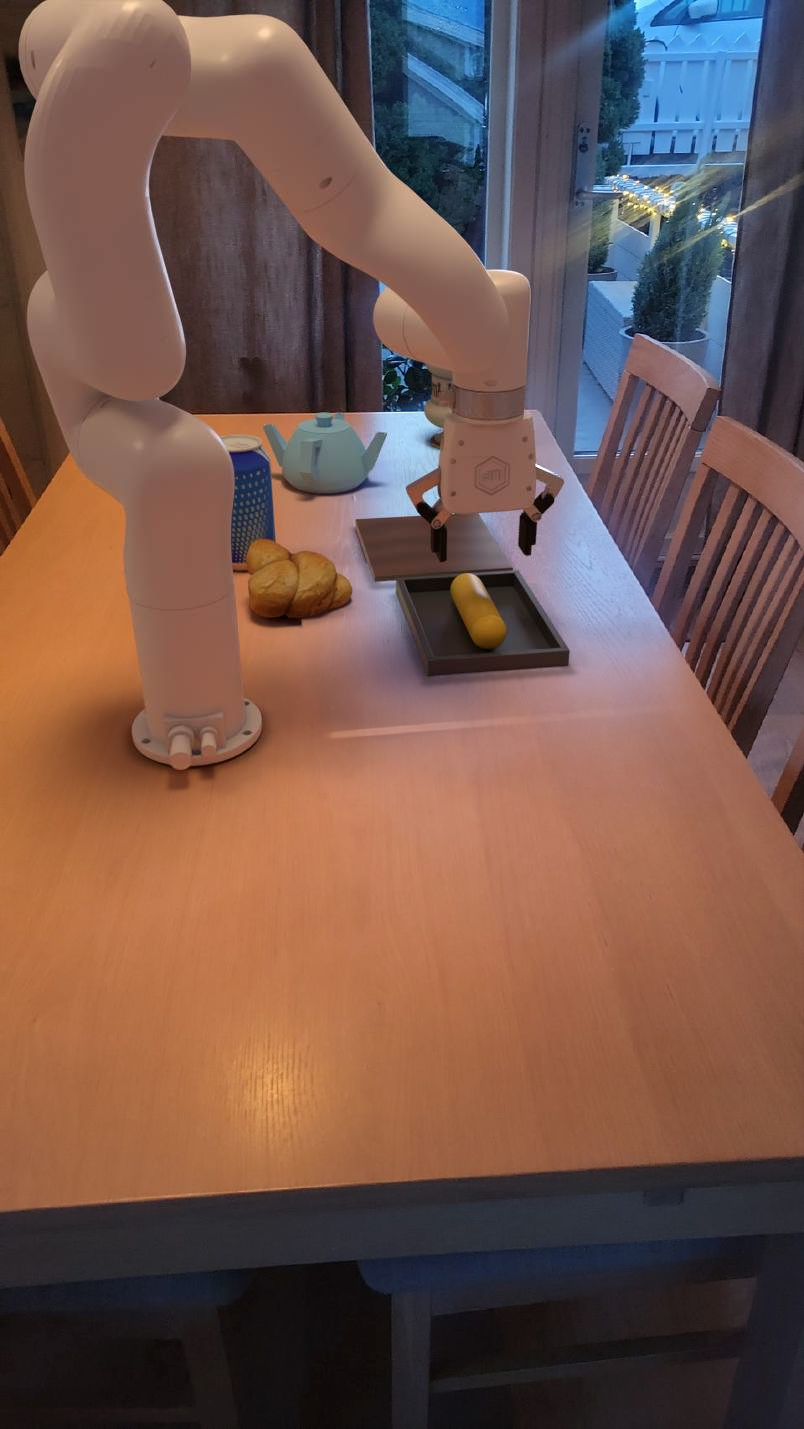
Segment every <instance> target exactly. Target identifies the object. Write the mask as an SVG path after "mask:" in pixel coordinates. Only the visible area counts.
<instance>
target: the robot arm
mask: <svg viewBox="0 0 804 1429" xmlns="http://www.w3.org/2000/svg"><path fill="white" fill-rule="evenodd" d="M18 61H19V66H20V67H19V68H20V71H21V74H22V77H23V80H24V83H25V84H26V86H27V89H28V90H29V92H30V94H31V95H32V97H33V98H34V99H35V101H36V102H35V105H34V108H33V111H32V114H31V118H30V120H29V125H28V130H27V134H26V140H25V147H24V159H23V160H24V161H23V162H24V165H23V166H24V169H23V171H24V185H25V191H26V196H27V201H28V202H27V203H28V206H29V210H30V214H31V218H32V222H33V226H34V229H35V231H36V236H37V238H38V242H39V245H40V250H41V253H42V256H43V260H44V264H45V268H46V270H45V271H44V273H42V274H41V275H40V277H39V278H38V279H37V281H36V283H35V284H34V286H33V288H32V290H31V292H30V295H29V297H28V301H27V309H26V326H27V327H26V328H27V333H28V339H29V343H30V348H31V350H32V353H33V356H34V359H35V362H36V366H37V369H38V370H39V373H40V376H41V379H42V381H43V384H44V388H45V390H46V393H47V395H48V398H49V401H50V404H51V406H52V410H53V412H54V414H55V417H56V420H57V422H58V425H59V428H60V431H61V434H62V436H63V438H64V441H65V443H66V446H67V448H68V450H69V453H70V455H71V457H72V459H73V461H74V463H75V464H76V466H77V467H78V469H79V470H80V471H81V473H82V474H83V475H84V477H86V479H88V480H89V481H90V482H91V483H92V484H94V486H96V487H97V488H99V489H100V490H101V491H103V492H104V493H106V494H108V495H109V496H111V497H112V498H113V499H114V500H116V502H118V503H120V504H121V505H122V507H123V511H124V515H125V532H124V539H123V550H122V551H123V553H122V555H123V556H122V557H123V558H122V560H123V571H124V572H123V573H124V580H125V586H126V587H125V588H126V593H127V597H128V603H129V609H130V614H131V616H130V617H131V623H132V629H133V636H134V643H135V649H136V657H137V663H138V669H139V676H140V683H141V684H140V685H141V691H142V696H143V703H144V704H143V705H144V708H143V709H142V710H141V711H140V712H139V713H138V714H137V716H136V717H135V718H134V720H133V722H132V725H131V735H132V736H131V737H132V741H133V745H134V746H135V748H136V749H137V750H138V751H139V753H141V754H142V756H145V757H146V758H148V759H149V760H150V759H151V760H152V761H155V762H157V763H161V764H164V765H165V764H166V765H169V766H171V767H172V768H173V769H175V770H179V771H184V770H186V769H188V768H189V767H198V766H207V765H212V764H217V763H220V762H224V761H227V760H229V759H233V758H234V757H236V756H239V755H240V754H242V753H244V752H245V751H246V750H248V749H249V748H251V747H252V746H253V745H254V744H255V743H256V742H257V740H258V739H259V737H260V736H261V734H262V730H263V716H262V713H261V711H260V709H259V708H258V706H257V705H256V704H255V703H254V702H253V701H251V700H250V699H248V698H246V697H245V692H244V691H245V690H244V679H243V669H242V657H241V647H240V646H241V645H240V636H239V622H238V612H237V604H236V603H237V600H236V589H235V582H234V570H233V568H232V555H231V518H232V508H233V499H234V487H235V478H234V468H233V464H232V460H231V457H230V454H229V452H228V450H227V448H226V446H225V444H224V442H223V441H222V440H221V438H220V437H221V436H219V435H218V433H217V432H216V431H215V430H214V429H213V428H212V427H211V426H210V425H209V424H207V423H206V422H205V421H204V420H202V419H200V418H198V417H197V416H196V415H194V414H192V413H189V412H188V411H185V410H183V409H182V408H180V407H178V406H175V405H173V404H171V403H169V402H166V401H163V400H161V399H160V398H162V397H163V396H165V395H166V394H168V393H169V392H170V391H172V390H173V388H174V387H175V386H176V385H177V384H178V383H179V381H180V380H181V378H182V375H183V373H184V370H185V366H186V359H187V358H186V357H187V345H186V344H187V343H186V339H185V334H184V328H183V324H182V320H181V316H180V314H179V310H178V307H177V303H176V300H175V297H174V292H173V288H172V286H171V281H170V278H169V275H168V271H167V267H166V263H165V260H164V256H163V253H162V250H161V245H160V242H159V238H158V234H157V229H156V226H155V221H154V220H155V219H154V215H153V211H152V204H151V199H150V198H151V197H150V186H149V185H150V175H151V168H152V163H153V159H154V155H155V152H156V149H157V147H158V144H159V142H160V140H161V138H162V136H163V137H164V136H166V137H180V138H202V139H215V140H226V141H234V142H235V143H236V144H237V145H238V146H239V148H240V149H241V150H242V151H243V152H244V154H245V155H246V156H247V158H248V159H249V161H250V162H251V163H252V164H253V166H254V167H255V168H256V169H257V170H258V172H259V173H260V174H261V175H262V177H263V178H264V180H265V181H266V182H267V183H268V184H269V185H270V187H271V189H273V191H274V192H275V194H276V195H277V196H278V197H279V199H280V200H281V201H282V203H283V205H284V206H285V207H286V208H287V209H288V211H289V212H290V213H291V215H292V216H293V218H294V219H295V221H296V222H297V223H298V224H299V226H300V227H301V228H302V230H303V231H304V232H305V233H306V234H307V236H308V237H309V238H311V240H312V241H313V242H315V243H316V244H317V245H319V246H320V247H321V248H323V249H324V250H326V252H329V253H330V254H331V255H333V256H335V257H336V258H337V259H339V260H341V261H343V262H344V263H346V264H348V265H350V266H352V267H353V268H356V269H358V270H359V271H362V272H363V273H366V274H367V275H368V276H370V277H372V278H373V279H375V280H377V281H378V282H380V283H381V284H382V285H384V286H385V288H384V289H383V290H382V291H381V293H380V294H379V296H378V297H377V299H376V301H375V304H374V307H373V313H372V316H373V317H372V321H373V322H372V323H373V327H374V330H375V333H376V335H377V337H378V339H379V340H380V341H381V343H382V344H383V345H384V346H385V347H386V348H387V349H389V351H392V352H393V353H395V354H396V355H399V356H400V357H403V358H407V359H409V360H414V361H415V362H416V361H417V362H420V363H423V364H425V363H428V364H431V365H434V366H438V367H441V368H444V369H447V370H450V371H453V382H451V387H449V390H446V392H439V394H438V401H439V405H446V406H450V408H451V409H452V411H449V412H447V414H446V417H445V421H444V426H443V429H442V431H441V432H442V437H441V445H440V448H439V453H438V454H439V455H438V465H437V467H436V468H435V469H433V470H431V471H429V472H428V473H426V474H425V475H423V476H421V477H419V478H418V479H416V480H414V481H412V482H410V483H409V484H407V485H406V486H405V492H406V494H407V496H408V498H409V500H410V501H411V503H412V505H413V507H414V509H415V510H416V512H417V513H418V514H419V516H422V517H423V518H424V519H425V520H426V521H427V522H429V523H430V524H431V540H430V545H431V551H432V553H436V555H437V557H438V559H439V561H440V562H445V561H447V528H446V527H445V525H444V523H445V522H446V520H447V519H448V518H449V517H450V516H451V515H452V514H474V513H479V514H487V513H489V514H490V513H501V512H513V511H522V510H523V511H522V512H521V513H520V515H519V521H518V536H517V546H518V548H519V549H520V551H521V552H522V554H523V555H524V556H525V557H529V556H530V557H531V555H532V547H533V546H536V545H537V534H538V533H537V532H538V522H539V521H541V520H542V516H543V514H545V513H546V512H547V510H549V509H550V508H551V507H552V506H553V505H554V503H555V499H556V498H557V497H558V495H559V493H560V492H561V490H562V488H563V486H564V484H565V480H564V479H563V477H562V476H561V475H559V474H557V473H555V472H554V471H551V470H549V469H547V468H545V467H542V466H541V465H538V464H537V458H536V457H537V456H536V455H537V454H536V437H535V436H536V435H535V427H534V421H533V415H532V413H531V412H529V411H528V410H527V409H526V408H525V407H526V405H525V404H526V389H527V387H526V386H527V369H528V351H529V335H530V317H531V316H530V314H531V313H530V312H531V298H532V293H531V292H532V290H531V285H530V281H529V279H528V277H526V276H525V275H524V274H522V273H521V272H517V271H514V270H507V269H486V267H485V266H484V264H483V262H482V261H481V259H480V257H479V256H478V255H477V254H476V252H475V251H474V249H472V247H471V245H470V244H468V242H467V241H466V240H465V238H464V237H462V236H461V235H460V234H459V232H458V231H457V230H456V229H455V228H454V227H452V225H450V223H448V222H447V221H446V220H445V219H444V218H443V217H442V216H441V215H439V214H438V213H437V212H436V211H435V210H434V209H433V208H432V207H431V206H430V205H428V204H427V202H425V201H424V200H423V199H422V198H421V197H420V196H419V195H418V194H417V193H416V192H415V191H414V190H413V189H411V188H410V187H409V186H408V185H407V184H405V183H404V182H403V181H402V180H401V179H400V178H398V177H397V176H396V175H395V174H394V173H393V172H391V170H390V169H389V168H388V167H387V166H386V164H385V163H384V161H383V160H382V159H381V157H380V155H379V154H378V152H377V151H376V150H375V148H374V146H373V144H372V143H371V142H370V140H369V139H368V137H367V136H366V135H365V133H364V132H363V129H362V128H361V127H360V125H359V124H358V122H357V121H356V118H354V116H353V114H352V112H350V110H349V108H348V106H347V105H346V104H345V102H344V100H343V99H342V98H341V96H340V93H338V91H337V90H336V88H335V86H334V85H333V84H332V82H331V81H330V79H329V78H328V76H327V74H326V73H325V71H324V70H323V68H322V67H321V66H320V63H319V62H318V61H317V59H316V58H315V56H314V55H313V53H312V52H311V50H310V49H309V47H308V45H307V44H306V43H305V42H304V41H303V39H302V38H301V37H300V36H299V34H298V33H297V32H296V30H294V29H293V28H292V27H291V26H290V25H289V24H287V23H286V22H284V21H282V20H281V19H279V18H276V17H273V16H271V15H266V14H236V15H222V16H208V17H204V16H203V17H202V16H188V15H178V14H177V13H176V12H175V11H174V9H173V8H172V7H171V6H170V5H169V4H167V3H166V2H165V1H163V0H44V1H42V2H41V3H39V4H38V5H37V6H36V7H35V8H34V9H33V10H32V11H31V13H30V14H29V15H28V16H27V18H26V19H25V21H24V23H23V26H22V28H21V31H20V34H19V41H18ZM537 480H538V481H540V482H541V483H544V484H545V486H544V490H543V491H542V492H540V493H539V494H538V495H537V496H536V492H537ZM436 487H437V488H436ZM434 488H436V489H437V490H436V491H437V495H438V497H439V498H438V499H437V501H436V502H435V503H434V504H433V505H432V506H431V505H430V504H428V503H427V502H426V501H425V499H424V498H423V496H424V495H425V493H426V492H428V491H430V490H431V489H434Z"/></svg>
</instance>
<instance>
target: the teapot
mask: <svg viewBox="0 0 804 1429" xmlns="http://www.w3.org/2000/svg"><path fill="white" fill-rule="evenodd" d="M314 417H315V418H313V419H308V420H304V421H302V422H300V423H299V424H298V425H297V426H296V428H295V430H294V431H293V433H292V434H291V436H290V438H289V440H288V442H287V440H286V439H285V438H284V436H283V435H282V434H281V432H280V431H279V430H278V428H277V427H276V426H275V423H265V424H263V425H262V429H263V432H264V433H265V436H266V438H267V440H268V442H269V443H268V444H269V446H270V448H271V450H272V453H273V454H274V457H275V459H276V462H277V464H278V466H279V467H281V473H282V475H283V477H284V478H285V480H286V481H287V482H288V484H290V485H291V486H292V487H293V488H294V489H296V490H298V491H301V492H306V493H309V494H319V495H320V494H323V495H329V494H340V493H345V492H349V491H353V490H355V489H356V488H358V487H359V486H361V485H362V483H363V482H364V481H365V480H366V478H367V477H368V476H369V474H370V473H371V471H372V470H374V468H375V466H376V463H377V460H378V458H379V455H380V454H381V451H382V448H383V446H384V444H385V441H386V439H387V436H388V432H386V431H385V432H384V431H376V432H375V433H374V437H373V438H372V440H371V441H370V443H369V445H368V446H367V448H366V446H365V445H364V443H363V441H362V439H361V437H360V436H359V434H358V433H357V432H356V430H355V428H354V427H353V426H352V424H350V422H348V421H346V418H345V413H344V412H336V413H335V414H333V413H330V412H318V413H316V414H314Z"/></svg>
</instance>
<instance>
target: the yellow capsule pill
mask: <svg viewBox="0 0 804 1429" xmlns="http://www.w3.org/2000/svg"><path fill="white" fill-rule="evenodd" d="M450 590H451V596H452V598H453V600H454V602H455V605H456V607H457V609H458V611H459V613H460V615H461V617H462V619H463V621H464V623H465V626H466V628H467V630H468V632H469V634H470V636H471V638H472V640H473V642H474V643H475V644H476V645H477V646H478V647H480V648H482V649H494V648H497V647H498V646H500V645H501V644H502V643H503V641H504V640H505V637H506V626H505V623H504V621H503V620H502V618H501V616H500V614H499V612H498V611H497V609H496V607H495V605H494V603H493V601H492V600H491V598H490V596H489V594H488V592H487V590H486V589H485V587H484V585H483V583H482V581H481V580H480V579H479V578H478V577H477V576H475V575H473V574H470V573H465V574H461V575H459V576H457V577H456V578H455V579H454V580H453V582H452V585H451V589H450Z"/></svg>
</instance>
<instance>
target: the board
mask: <svg viewBox="0 0 804 1429" xmlns="http://www.w3.org/2000/svg"><path fill="white" fill-rule="evenodd" d="M480 514H481V513H474V514H454V513H452V515H451V516H450V517H449V518H448V519H447V520H446V522H445V523H444V525H445V527H446V528H447V561H445V562H440V561H439V559H438V557H437V555H436V553H432V551H431V545H430V540H431V524H430V523H429V522H427V521H426V520H425V519H424V518H423V517H422V516H421V515H408V516H407V515H406V516H390V517H387V516H386V517H370V518H368V517H367V518H355V520H354V522H355V531H356V534H357V537H358V541H359V543H360V547H361V549H362V552H363V555H364V558H365V561H366V563H367V564H368V565H369V568H370V571H371V574H372V577H373V580H374V582H392V581H396V578H400V577H416V576H432V575H448V574H464V573H480V572H496V571H512V570H514V567H513V565H512V564H511V562H510V560H509V559H508V557H507V556H506V554H505V553H504V551H503V549H502V547H501V546H500V545H499V543H498V541H497V540H496V539H495V537H494V535H493V534H492V532H491V531H490V529H489V527H488V525H487V523H485V521H484V519H483V518H482V516H481V515H480Z"/></svg>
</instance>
